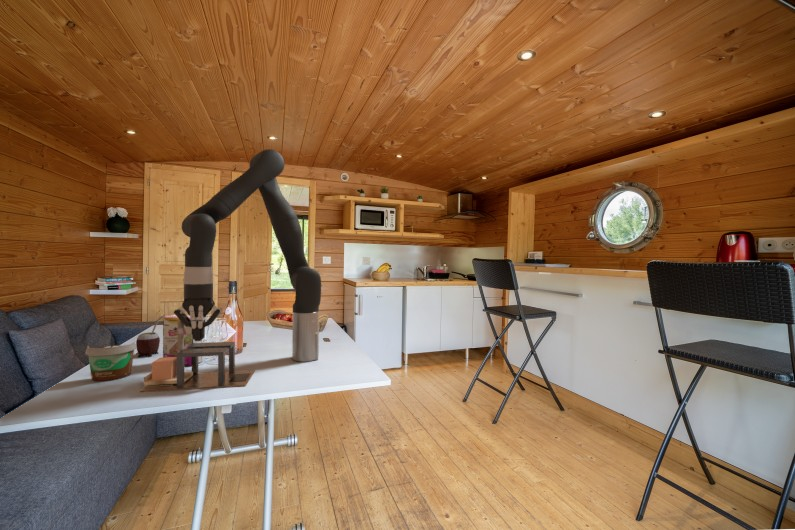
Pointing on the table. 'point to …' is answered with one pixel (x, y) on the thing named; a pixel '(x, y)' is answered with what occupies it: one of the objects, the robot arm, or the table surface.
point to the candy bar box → (176, 338)
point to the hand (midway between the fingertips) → (198, 340)
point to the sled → (187, 375)
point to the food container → (110, 362)
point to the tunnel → (209, 378)
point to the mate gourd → (148, 343)
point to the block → (164, 368)
